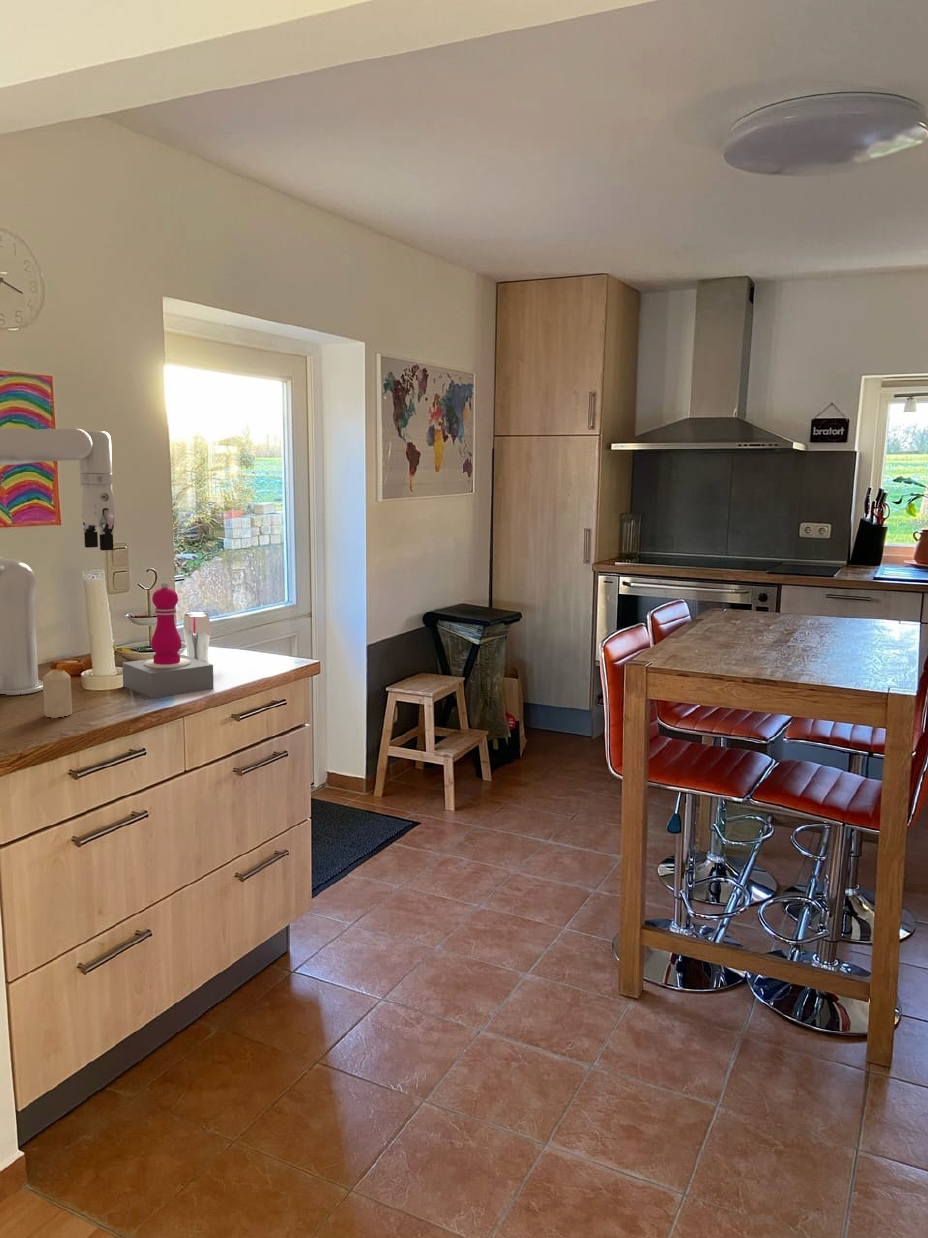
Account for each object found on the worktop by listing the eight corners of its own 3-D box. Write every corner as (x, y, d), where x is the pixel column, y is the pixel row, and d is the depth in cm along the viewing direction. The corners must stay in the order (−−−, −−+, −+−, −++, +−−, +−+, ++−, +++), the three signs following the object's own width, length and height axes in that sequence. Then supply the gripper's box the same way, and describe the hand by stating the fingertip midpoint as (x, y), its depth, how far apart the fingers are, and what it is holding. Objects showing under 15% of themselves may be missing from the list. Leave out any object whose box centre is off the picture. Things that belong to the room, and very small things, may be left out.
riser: (152, 698, 213) (151, 672, 212) (123, 686, 224) (122, 661, 223) (213, 688, 224) (213, 663, 223) (182, 677, 235) (182, 653, 234)
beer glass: (184, 671, 242) (182, 616, 239) (184, 666, 248) (183, 612, 246) (211, 670, 243) (209, 616, 241) (211, 665, 250) (209, 612, 248)
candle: (40, 714, 197) (38, 670, 196) (66, 710, 201) (64, 666, 199) (50, 720, 193) (47, 674, 192) (76, 715, 197) (74, 671, 196)
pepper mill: (172, 665, 219) (170, 584, 216) (145, 663, 220) (143, 582, 217) (187, 660, 226) (185, 581, 223) (161, 658, 227) (159, 579, 224)
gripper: (125, 481, 223) (127, 550, 226) (97, 480, 235) (100, 545, 238) (95, 481, 218) (97, 551, 221) (68, 479, 230) (71, 546, 233)
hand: (99, 548), depth 229 cm, fingers open, 9 cm apart
